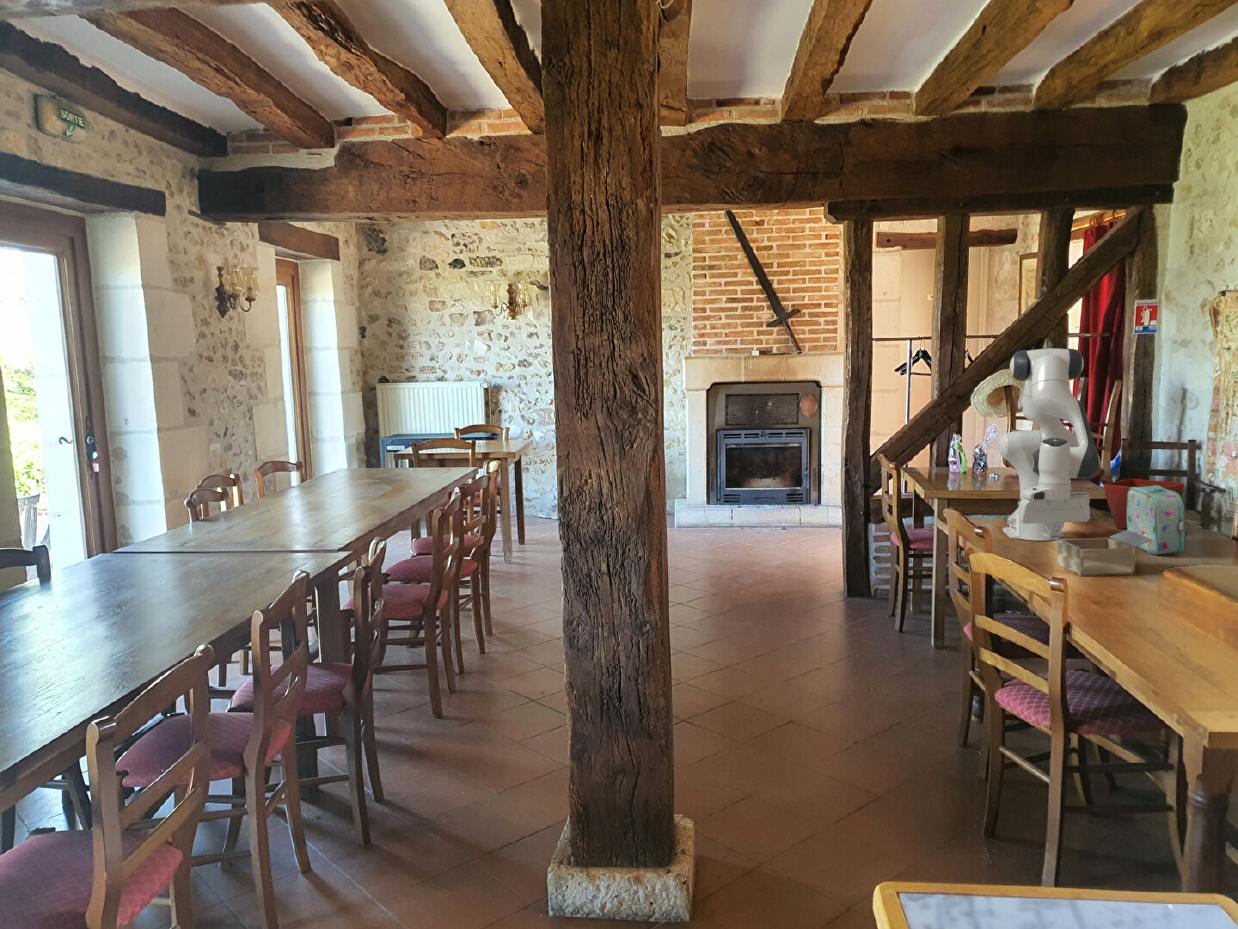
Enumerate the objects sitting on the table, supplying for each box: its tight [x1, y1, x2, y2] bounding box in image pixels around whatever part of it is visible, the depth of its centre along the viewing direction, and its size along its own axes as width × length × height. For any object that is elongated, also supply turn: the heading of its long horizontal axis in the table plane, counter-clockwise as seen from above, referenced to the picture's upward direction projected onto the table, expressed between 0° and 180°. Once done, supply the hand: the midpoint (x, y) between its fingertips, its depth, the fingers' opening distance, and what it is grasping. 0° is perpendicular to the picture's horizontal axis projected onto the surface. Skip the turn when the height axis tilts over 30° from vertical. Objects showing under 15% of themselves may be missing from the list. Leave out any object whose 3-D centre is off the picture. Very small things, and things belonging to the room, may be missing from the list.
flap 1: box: [1042, 533, 1080, 549], centre depth 254 cm, size 14×1×6 cm
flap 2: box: [1109, 529, 1153, 548], centre depth 253 cm, size 14×1×6 cm
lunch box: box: [1126, 485, 1187, 555], centre depth 274 cm, size 27×10×21 cm, turn 168°
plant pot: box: [1103, 478, 1185, 529], centre depth 306 cm, size 19×19×17 cm
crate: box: [1056, 537, 1136, 577], centre depth 254 cm, size 15×16×8 cm
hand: (1053, 536), depth 254 cm, fingers closed
